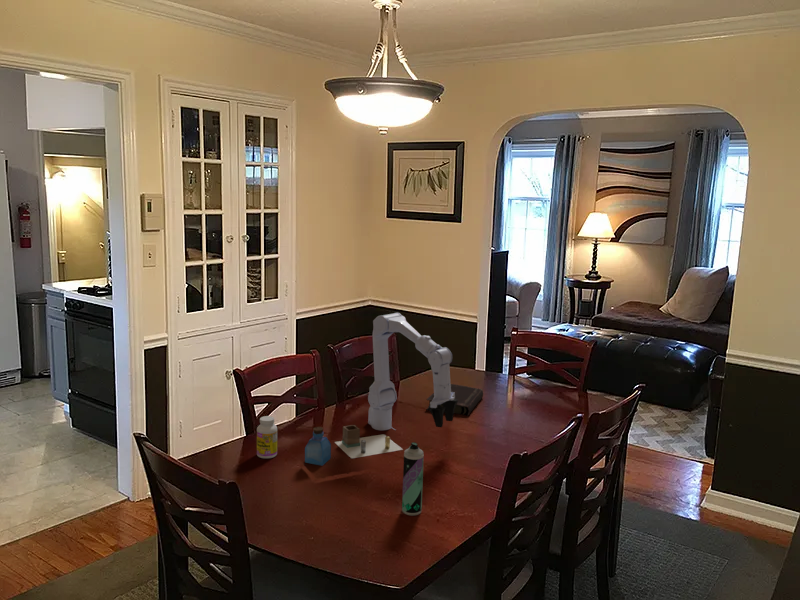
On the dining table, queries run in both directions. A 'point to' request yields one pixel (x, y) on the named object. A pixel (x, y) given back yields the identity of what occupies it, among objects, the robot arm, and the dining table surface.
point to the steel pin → (363, 446)
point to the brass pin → (387, 442)
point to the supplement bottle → (267, 438)
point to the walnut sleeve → (351, 436)
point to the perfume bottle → (318, 448)
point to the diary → (463, 398)
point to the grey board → (369, 447)
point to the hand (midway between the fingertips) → (444, 423)
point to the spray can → (412, 480)
